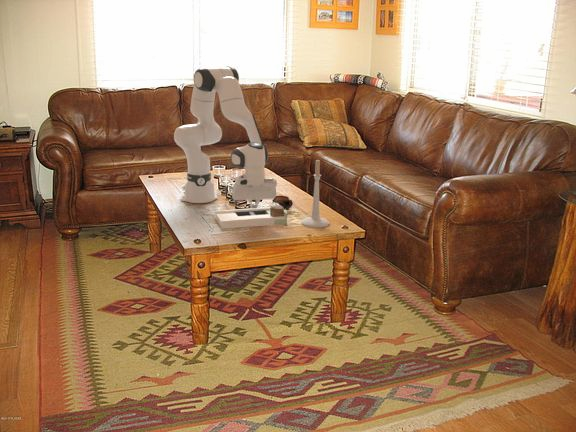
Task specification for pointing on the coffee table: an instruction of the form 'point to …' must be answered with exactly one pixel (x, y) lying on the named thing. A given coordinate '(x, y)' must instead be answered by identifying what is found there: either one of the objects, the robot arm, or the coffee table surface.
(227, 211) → the box
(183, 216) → the coffee table surface
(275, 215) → the walnut block
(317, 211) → the candlestick
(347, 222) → the coffee table surface
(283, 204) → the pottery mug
